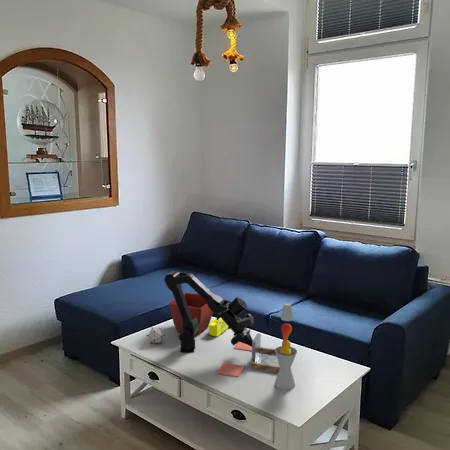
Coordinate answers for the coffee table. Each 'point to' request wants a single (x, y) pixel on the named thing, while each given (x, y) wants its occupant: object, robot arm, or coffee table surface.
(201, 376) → the coffee table surface
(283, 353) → the lava lamp
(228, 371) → the mat
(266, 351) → the walnut corral
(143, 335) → the coffee table surface
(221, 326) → the yellow toy chassis
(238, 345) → the mat
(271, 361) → the grey bookend
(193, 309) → the plant pot
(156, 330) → the white faceted polyhedron
